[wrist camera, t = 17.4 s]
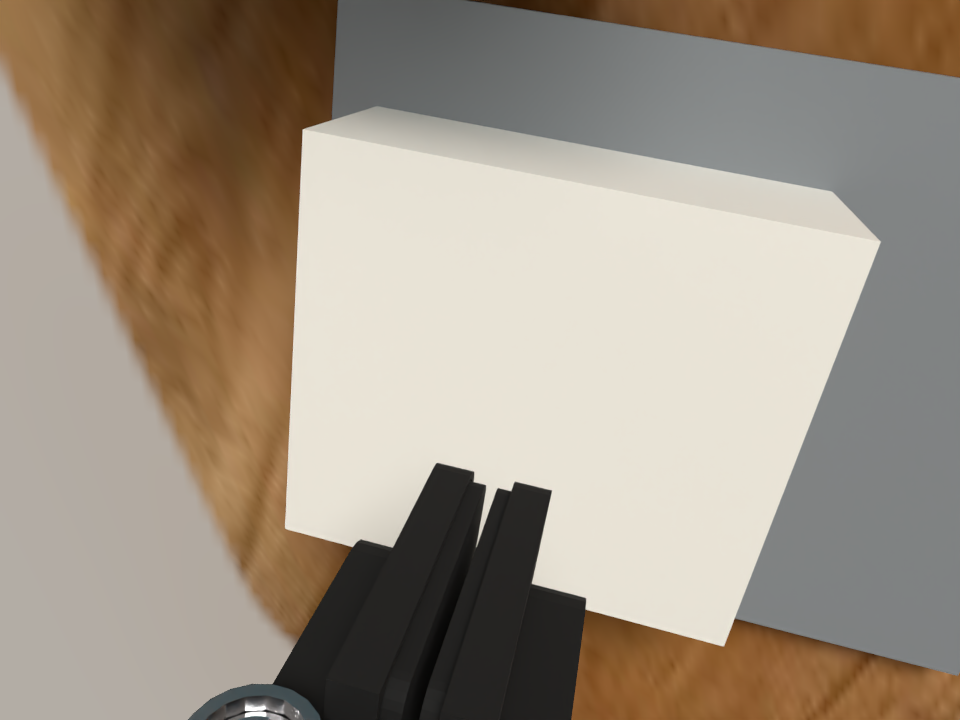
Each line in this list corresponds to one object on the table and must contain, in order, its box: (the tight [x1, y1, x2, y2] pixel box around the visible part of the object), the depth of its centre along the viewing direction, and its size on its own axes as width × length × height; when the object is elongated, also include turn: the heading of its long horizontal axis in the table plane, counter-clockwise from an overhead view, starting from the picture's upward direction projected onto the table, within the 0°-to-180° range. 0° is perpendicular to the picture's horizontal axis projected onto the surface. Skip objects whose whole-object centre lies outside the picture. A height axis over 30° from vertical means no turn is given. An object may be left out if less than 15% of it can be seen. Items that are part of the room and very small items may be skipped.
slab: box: [285, 106, 881, 646], centre depth 17 cm, size 4×9×10 cm
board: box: [332, 0, 960, 676], centre depth 19 cm, size 18×14×1 cm
